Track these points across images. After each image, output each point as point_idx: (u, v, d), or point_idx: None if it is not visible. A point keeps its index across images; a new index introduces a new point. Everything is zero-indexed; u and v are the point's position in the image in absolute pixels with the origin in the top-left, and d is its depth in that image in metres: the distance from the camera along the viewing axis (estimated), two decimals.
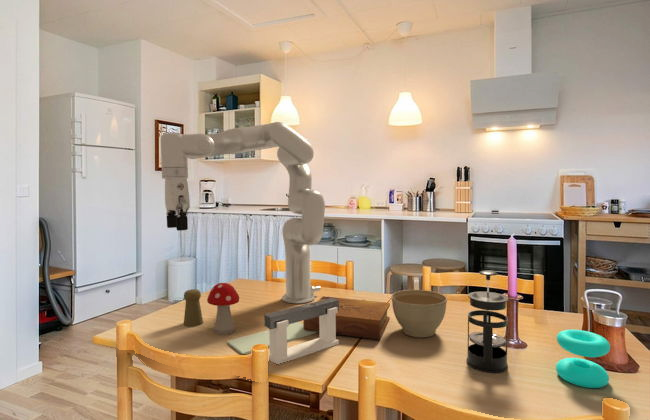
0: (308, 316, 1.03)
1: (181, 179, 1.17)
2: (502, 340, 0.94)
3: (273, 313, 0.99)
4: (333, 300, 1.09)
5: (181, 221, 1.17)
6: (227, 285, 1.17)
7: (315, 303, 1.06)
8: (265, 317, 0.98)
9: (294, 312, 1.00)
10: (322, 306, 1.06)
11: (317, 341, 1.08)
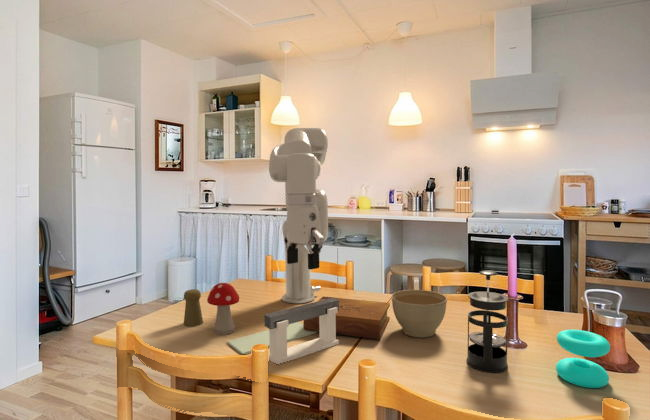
0: (308, 316, 1.03)
1: (313, 208, 0.98)
2: (502, 340, 0.94)
3: (273, 313, 0.99)
4: (333, 300, 1.09)
5: (314, 258, 0.98)
6: (227, 285, 1.17)
7: (315, 303, 1.06)
8: (265, 317, 0.98)
9: (294, 312, 1.00)
10: (322, 306, 1.06)
11: (317, 341, 1.08)
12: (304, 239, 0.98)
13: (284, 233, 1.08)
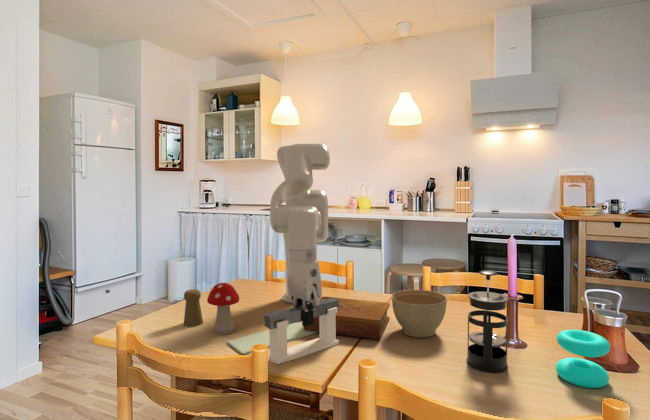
0: None
1: (314, 264, 0.99)
2: (502, 340, 0.94)
3: (273, 313, 0.99)
4: (333, 300, 1.09)
5: (308, 316, 1.01)
6: (227, 285, 1.17)
7: None
8: (265, 317, 0.98)
9: (294, 312, 1.00)
10: (322, 306, 1.06)
11: (317, 341, 1.08)
12: (305, 295, 0.99)
13: None
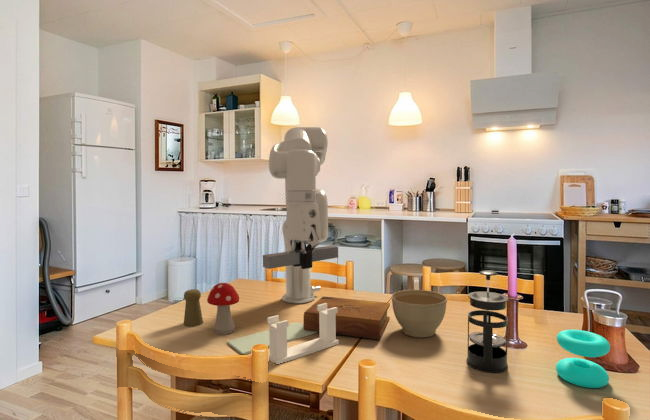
0: None
1: (313, 205, 0.98)
2: (502, 340, 0.94)
3: (271, 254, 0.98)
4: (333, 246, 1.08)
5: (307, 258, 1.00)
6: (227, 285, 1.17)
7: (314, 248, 1.06)
8: (263, 257, 0.97)
9: (293, 254, 0.99)
10: (321, 251, 1.05)
11: (317, 341, 1.08)
12: (304, 236, 0.98)
13: (288, 238, 1.07)
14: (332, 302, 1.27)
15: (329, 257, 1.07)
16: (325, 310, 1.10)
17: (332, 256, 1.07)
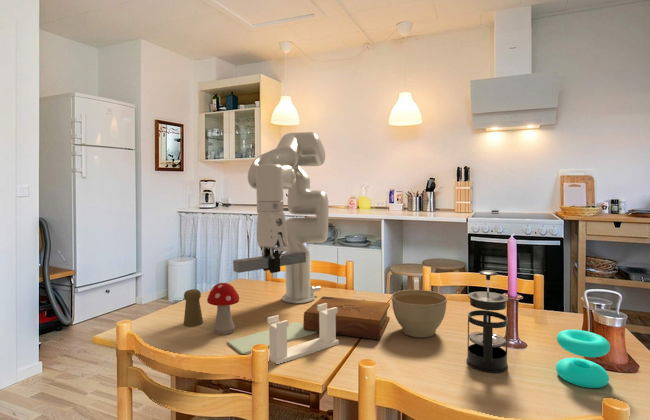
0: None
1: (280, 214, 1.08)
2: (502, 340, 0.94)
3: (241, 259, 1.07)
4: (300, 252, 1.17)
5: (275, 263, 1.09)
6: (227, 285, 1.17)
7: (283, 254, 1.15)
8: (234, 262, 1.06)
9: (262, 259, 1.08)
10: (289, 256, 1.14)
11: (317, 341, 1.08)
12: (271, 243, 1.07)
13: (259, 244, 1.16)
14: (332, 302, 1.27)
15: (297, 262, 1.16)
16: (325, 310, 1.10)
17: (300, 261, 1.16)
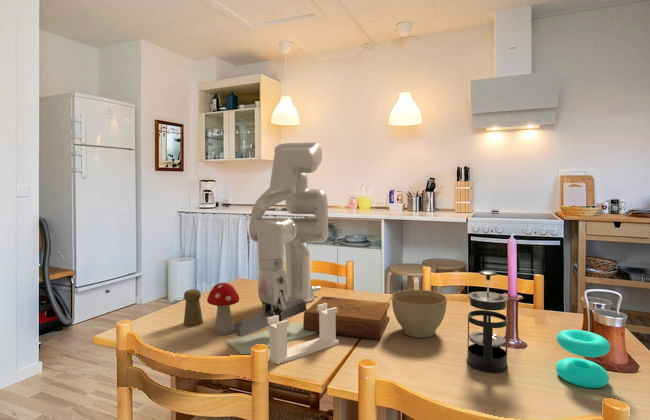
0: None
1: (281, 272, 1.09)
2: (502, 340, 0.94)
3: (242, 322, 1.08)
4: (300, 301, 1.18)
5: None
6: (227, 285, 1.17)
7: None
8: (235, 326, 1.07)
9: (262, 318, 1.09)
10: (289, 309, 1.15)
11: (317, 341, 1.08)
12: (272, 300, 1.08)
13: None
14: (332, 302, 1.27)
15: (298, 312, 1.16)
16: (325, 310, 1.10)
17: (300, 311, 1.17)
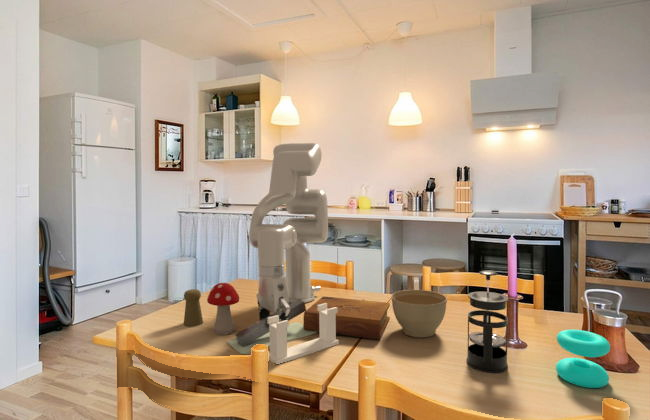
0: None
1: (281, 279, 1.09)
2: (502, 340, 0.94)
3: (243, 331, 1.08)
4: (299, 302, 1.18)
5: None
6: (227, 285, 1.17)
7: None
8: (236, 336, 1.07)
9: (263, 325, 1.09)
10: (289, 312, 1.15)
11: (317, 341, 1.08)
12: (273, 307, 1.08)
13: (257, 296, 1.19)
14: (332, 302, 1.27)
15: (298, 313, 1.17)
16: (325, 310, 1.10)
17: (300, 311, 1.17)
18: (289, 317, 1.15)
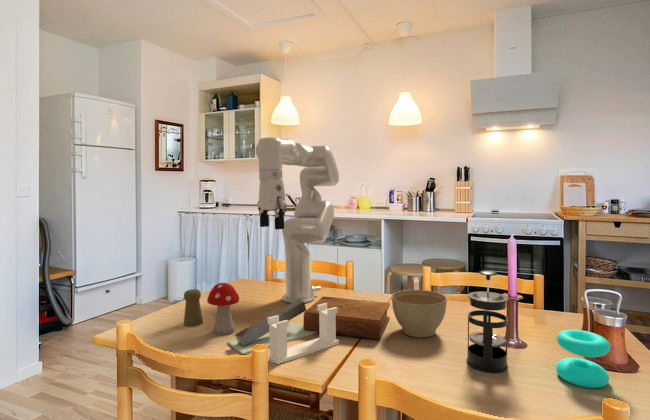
0: None
1: (279, 181, 1.24)
2: (502, 340, 0.94)
3: (243, 331, 1.08)
4: (299, 302, 1.18)
5: (279, 220, 1.24)
6: (227, 285, 1.17)
7: (282, 310, 1.15)
8: (236, 336, 1.07)
9: (263, 325, 1.09)
10: (289, 312, 1.15)
11: (317, 341, 1.08)
12: (271, 205, 1.24)
13: (258, 203, 1.34)
14: (332, 302, 1.27)
15: (297, 313, 1.17)
16: (325, 310, 1.10)
17: (300, 311, 1.17)
18: (289, 317, 1.15)
